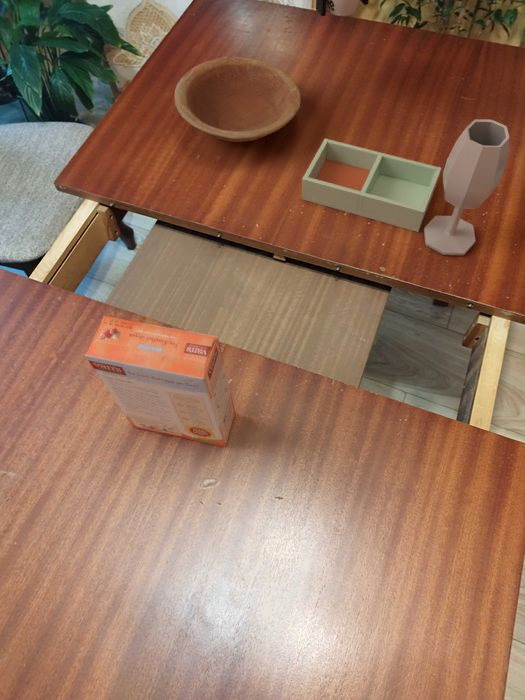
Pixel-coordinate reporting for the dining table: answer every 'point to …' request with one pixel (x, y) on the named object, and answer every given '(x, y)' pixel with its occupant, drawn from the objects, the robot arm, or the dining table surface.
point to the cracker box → (165, 379)
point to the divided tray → (370, 184)
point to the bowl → (237, 98)
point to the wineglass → (468, 183)
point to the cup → (342, 7)
